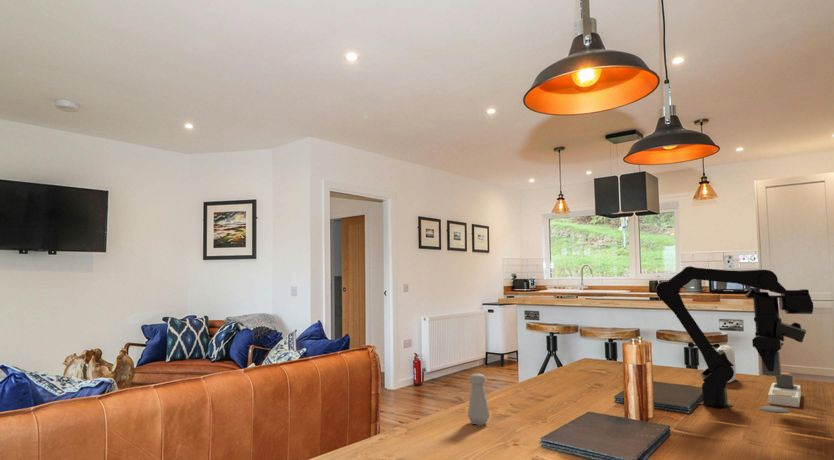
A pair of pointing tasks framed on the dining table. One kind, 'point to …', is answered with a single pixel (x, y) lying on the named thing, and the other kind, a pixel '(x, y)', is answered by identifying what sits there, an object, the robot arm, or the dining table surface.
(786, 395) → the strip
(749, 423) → the dining table surface
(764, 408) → the coaster
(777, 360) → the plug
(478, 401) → the salt shaker
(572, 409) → the dining table surface
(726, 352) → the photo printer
